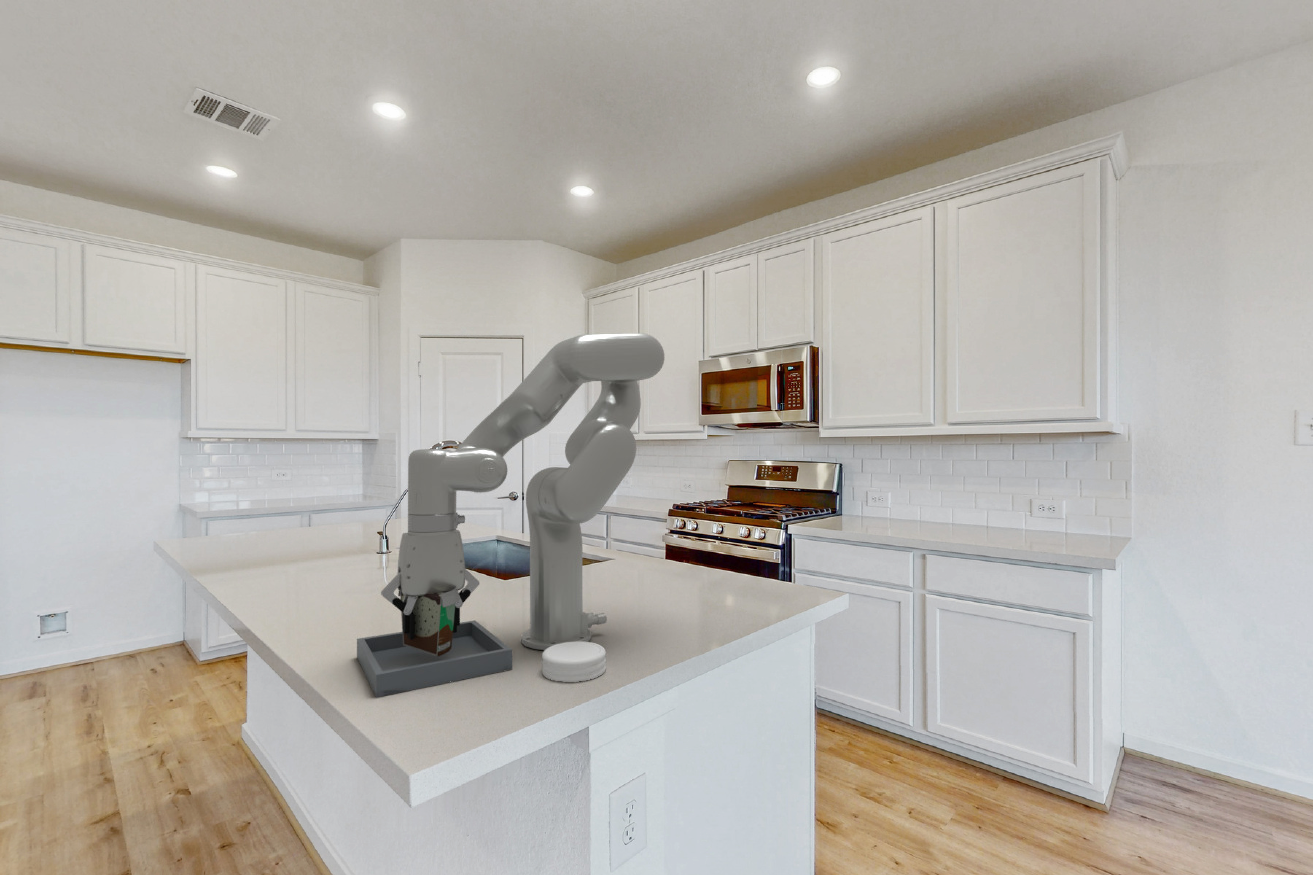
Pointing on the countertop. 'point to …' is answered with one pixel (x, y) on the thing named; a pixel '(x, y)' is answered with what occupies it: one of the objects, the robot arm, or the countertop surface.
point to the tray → (430, 660)
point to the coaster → (573, 661)
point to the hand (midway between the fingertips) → (431, 633)
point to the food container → (432, 622)
